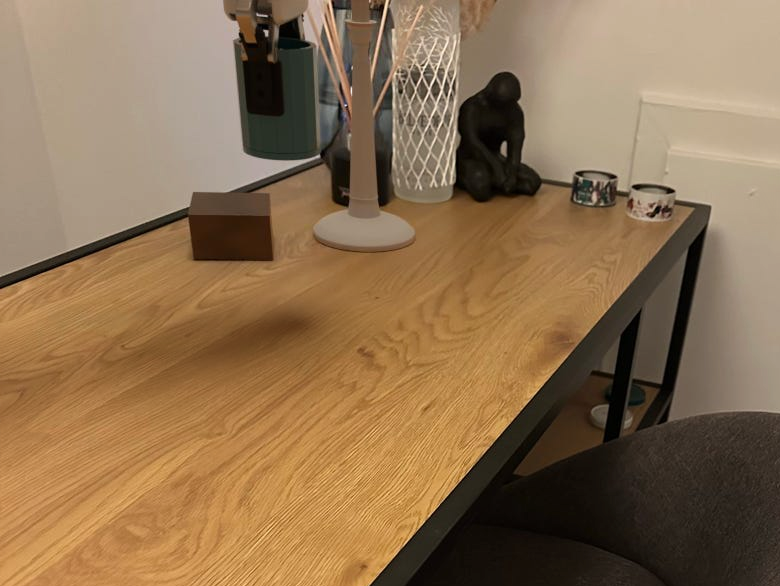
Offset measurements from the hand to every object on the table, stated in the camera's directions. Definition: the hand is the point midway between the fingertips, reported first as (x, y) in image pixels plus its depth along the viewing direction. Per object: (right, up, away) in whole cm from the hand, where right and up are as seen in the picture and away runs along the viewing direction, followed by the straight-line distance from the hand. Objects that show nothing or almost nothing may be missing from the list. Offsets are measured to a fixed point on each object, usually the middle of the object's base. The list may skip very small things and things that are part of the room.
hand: (278, 104), depth 84 cm
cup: (0, -3, +2) cm, 4 cm away
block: (-11, -1, +28) cm, 31 cm away
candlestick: (+3, +3, +35) cm, 35 cm away
